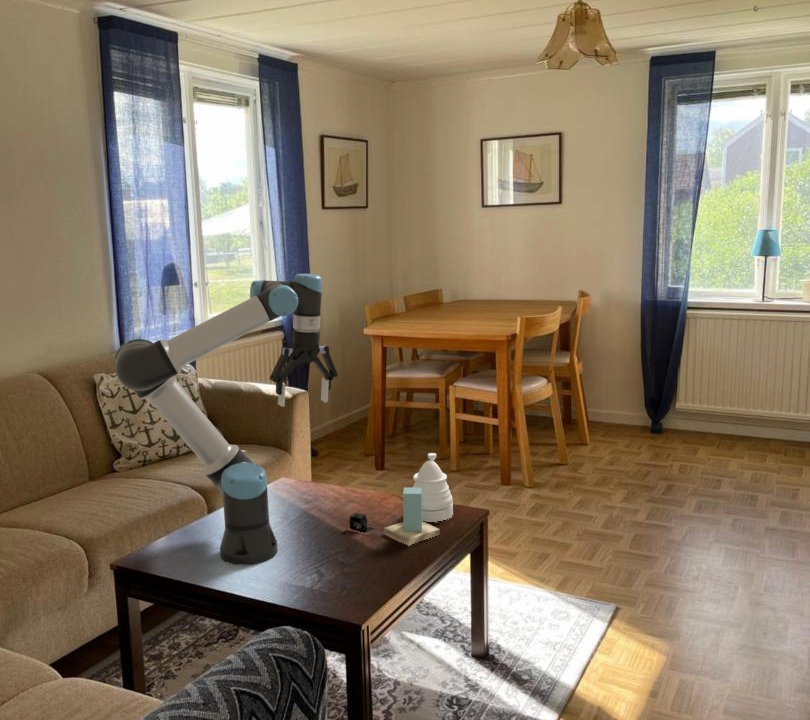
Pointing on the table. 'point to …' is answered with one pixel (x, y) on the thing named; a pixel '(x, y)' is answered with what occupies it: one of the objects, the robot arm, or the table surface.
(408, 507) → the pillar block
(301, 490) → the table surface
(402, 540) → the base slab
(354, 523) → the black boxy piece
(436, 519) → the honey pot
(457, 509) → the table surface
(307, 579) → the table surface
